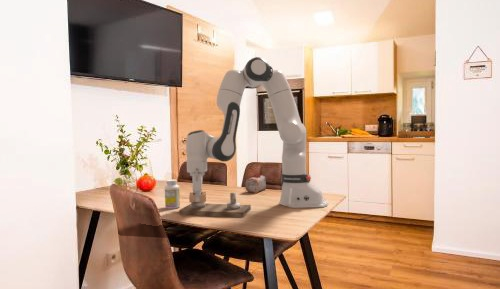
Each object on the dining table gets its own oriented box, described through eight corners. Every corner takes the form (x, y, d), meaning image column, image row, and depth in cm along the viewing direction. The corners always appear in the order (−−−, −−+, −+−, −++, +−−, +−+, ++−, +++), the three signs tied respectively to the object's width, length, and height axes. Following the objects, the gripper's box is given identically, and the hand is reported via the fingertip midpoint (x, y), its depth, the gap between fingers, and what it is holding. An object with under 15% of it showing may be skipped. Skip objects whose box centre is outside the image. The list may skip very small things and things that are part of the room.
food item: (257, 194, 195) (257, 176, 195) (244, 193, 199) (244, 175, 198) (267, 189, 208) (267, 172, 207) (254, 188, 211) (254, 172, 211)
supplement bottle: (173, 205, 172) (172, 178, 171) (182, 207, 167) (182, 179, 167) (162, 208, 166) (161, 180, 166) (171, 209, 162) (170, 181, 161)
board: (250, 209, 160) (250, 188, 159) (243, 217, 146) (242, 194, 145) (191, 207, 166) (191, 187, 165) (179, 215, 152) (178, 192, 152)
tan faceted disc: (205, 198, 161) (205, 191, 161) (205, 201, 154) (205, 194, 154) (190, 199, 160) (189, 192, 160) (189, 202, 153) (189, 195, 153)
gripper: (204, 170, 147) (205, 203, 147) (204, 164, 167) (205, 194, 168) (188, 170, 146) (189, 204, 147) (190, 165, 166) (191, 195, 167)
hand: (198, 199), depth 157 cm, fingers open, 8 cm apart
